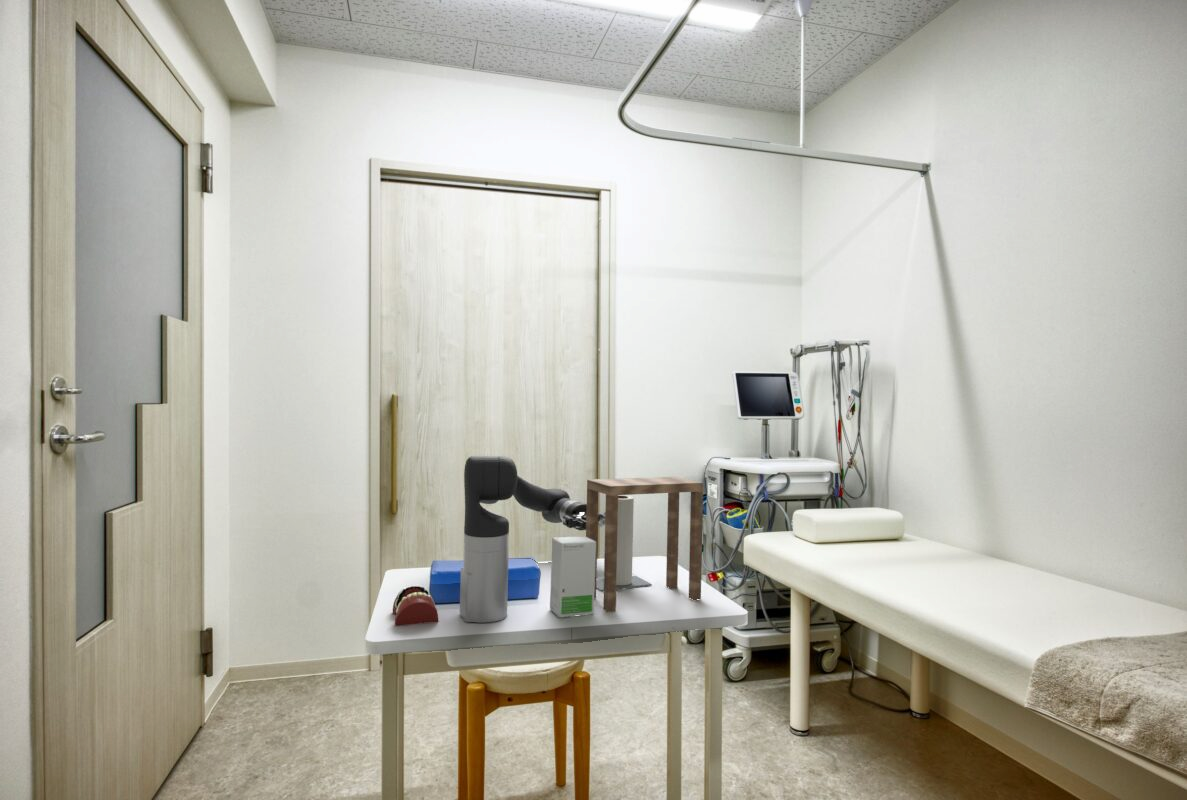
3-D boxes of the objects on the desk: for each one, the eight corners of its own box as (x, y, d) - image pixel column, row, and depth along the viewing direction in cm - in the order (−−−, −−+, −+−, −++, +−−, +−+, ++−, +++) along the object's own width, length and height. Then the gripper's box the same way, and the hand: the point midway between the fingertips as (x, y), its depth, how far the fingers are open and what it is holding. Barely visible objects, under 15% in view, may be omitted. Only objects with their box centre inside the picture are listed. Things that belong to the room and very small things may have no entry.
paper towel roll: (632, 586, 154) (634, 498, 154) (607, 586, 154) (609, 498, 154) (631, 578, 161) (633, 494, 161) (607, 577, 161) (609, 493, 161)
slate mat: (600, 591, 151) (600, 589, 151) (586, 582, 158) (586, 581, 158) (651, 585, 157) (651, 584, 157) (635, 577, 164) (635, 575, 164)
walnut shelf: (607, 612, 136) (610, 486, 136) (584, 596, 147) (587, 479, 147) (700, 599, 146) (703, 482, 146) (673, 585, 157) (675, 476, 157)
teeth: (431, 577, 137) (439, 594, 126) (431, 606, 137) (439, 625, 126) (390, 582, 134) (395, 600, 123) (391, 612, 134) (395, 632, 123)
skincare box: (558, 618, 131) (559, 543, 131) (548, 609, 137) (550, 537, 137) (595, 614, 134) (597, 541, 134) (584, 605, 140) (586, 534, 140)
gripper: (598, 526, 185) (624, 537, 170) (553, 529, 179) (575, 541, 164) (599, 500, 185) (625, 509, 170) (553, 502, 179) (576, 512, 164)
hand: (600, 524), depth 167 cm, fingers open, 8 cm apart
